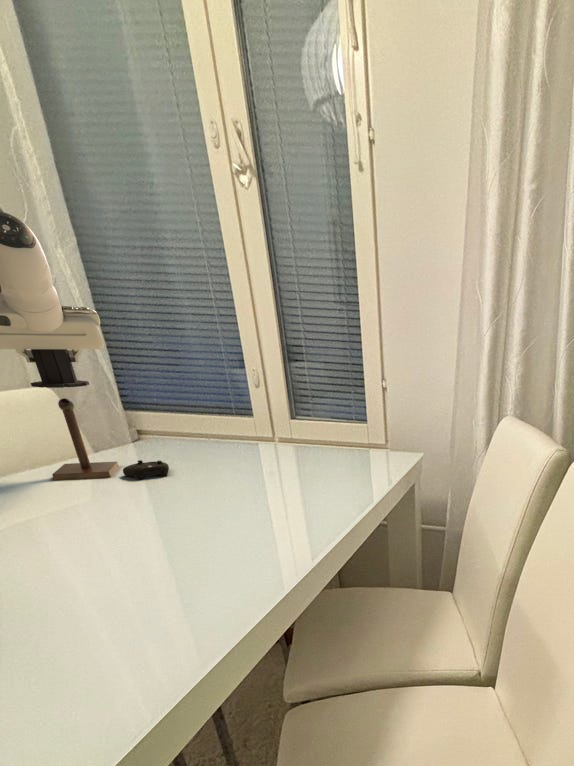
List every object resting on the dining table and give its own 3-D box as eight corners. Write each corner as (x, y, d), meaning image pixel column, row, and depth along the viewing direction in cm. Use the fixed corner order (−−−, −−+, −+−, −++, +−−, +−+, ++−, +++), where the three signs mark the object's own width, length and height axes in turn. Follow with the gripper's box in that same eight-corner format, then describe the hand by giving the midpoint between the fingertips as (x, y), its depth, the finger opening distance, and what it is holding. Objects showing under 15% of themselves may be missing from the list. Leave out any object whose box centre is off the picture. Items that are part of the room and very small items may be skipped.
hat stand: (54, 480, 122) (26, 401, 114) (66, 470, 131) (41, 395, 123) (110, 478, 126) (87, 401, 118) (119, 467, 135) (98, 395, 127)
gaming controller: (165, 466, 133) (167, 451, 129) (174, 485, 133) (176, 470, 128) (121, 471, 127) (120, 456, 123) (130, 491, 127) (130, 476, 122)
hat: (26, 388, 113) (8, 338, 109) (40, 383, 121) (24, 337, 117) (82, 387, 116) (67, 339, 112) (92, 383, 124) (79, 337, 120)
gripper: (93, 295, 110) (105, 347, 122) (-38, 289, 100) (-11, 347, 112) (101, 321, 109) (113, 371, 121) (-30, 318, 99) (-4, 373, 111)
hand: (52, 360), depth 117 cm, fingers closed on hat, 6 cm apart
